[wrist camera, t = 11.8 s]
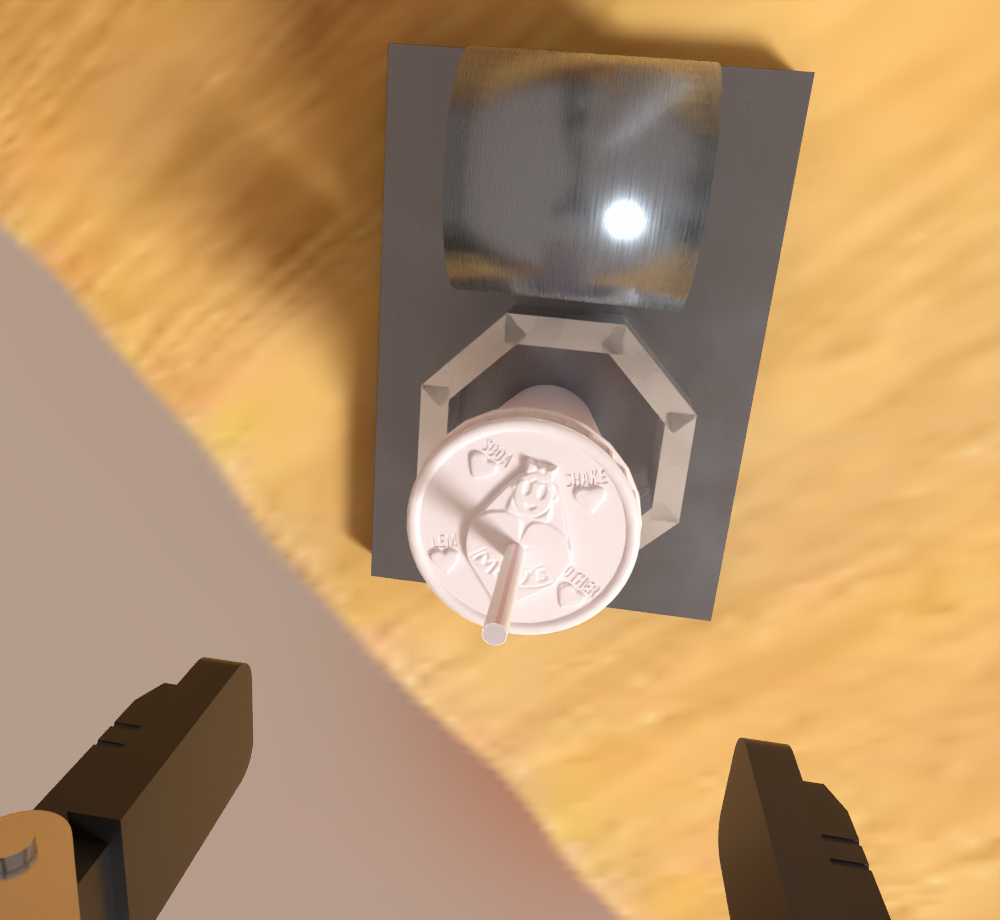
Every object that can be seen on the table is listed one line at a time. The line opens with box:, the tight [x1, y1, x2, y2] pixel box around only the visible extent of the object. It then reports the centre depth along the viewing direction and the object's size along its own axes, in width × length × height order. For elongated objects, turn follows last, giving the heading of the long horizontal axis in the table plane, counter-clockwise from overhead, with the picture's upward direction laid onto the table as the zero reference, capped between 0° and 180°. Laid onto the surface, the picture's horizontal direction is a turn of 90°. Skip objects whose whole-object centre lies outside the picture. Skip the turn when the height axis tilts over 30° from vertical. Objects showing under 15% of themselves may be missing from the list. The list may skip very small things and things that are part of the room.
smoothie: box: [407, 385, 642, 646], centre depth 23 cm, size 6×6×14 cm
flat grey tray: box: [371, 43, 815, 621], centre depth 26 cm, size 20×14×8 cm
